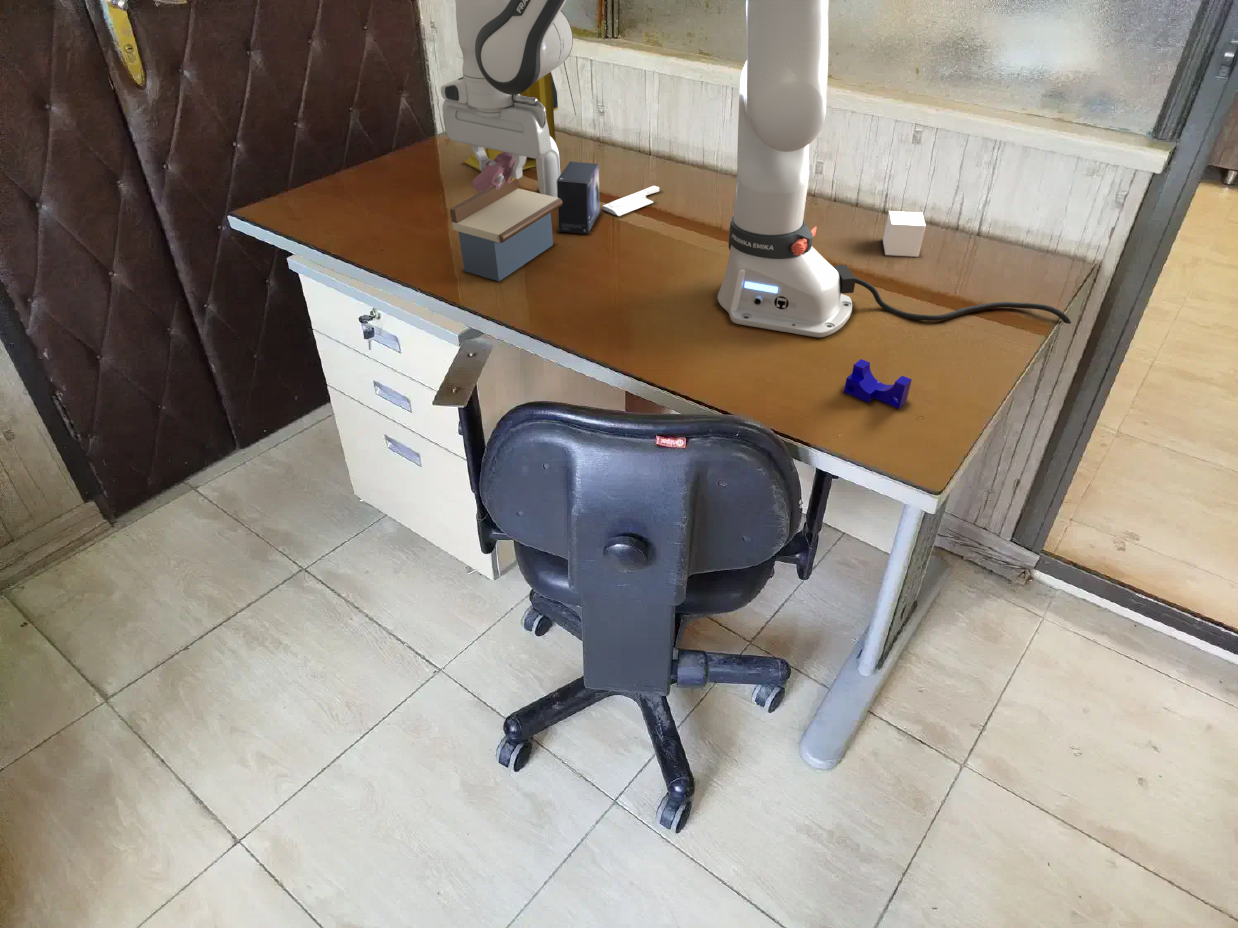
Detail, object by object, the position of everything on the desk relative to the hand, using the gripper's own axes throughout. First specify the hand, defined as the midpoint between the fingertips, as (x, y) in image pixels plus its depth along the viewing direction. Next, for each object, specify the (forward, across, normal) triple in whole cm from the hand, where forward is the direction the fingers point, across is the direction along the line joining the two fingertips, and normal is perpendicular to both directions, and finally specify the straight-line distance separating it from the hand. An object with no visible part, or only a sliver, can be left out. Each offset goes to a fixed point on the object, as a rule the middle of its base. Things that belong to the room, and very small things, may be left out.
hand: (501, 174), depth 144 cm
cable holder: (+16, -72, +9) cm, 75 cm away
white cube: (+16, -62, -40) cm, 75 cm away
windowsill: (+16, 0, 0) cm, 16 cm away
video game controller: (+2, 0, 0) cm, 2 cm away
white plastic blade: (+16, -8, -34) cm, 38 cm away
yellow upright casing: (+16, +30, -40) cm, 52 cm away
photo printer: (+16, +10, -28) cm, 34 cm away
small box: (+16, -2, -20) cm, 26 cm away
